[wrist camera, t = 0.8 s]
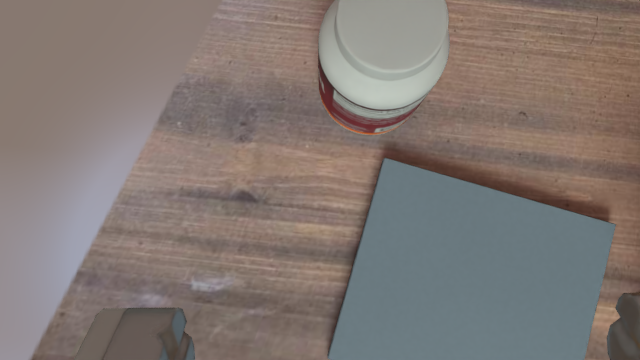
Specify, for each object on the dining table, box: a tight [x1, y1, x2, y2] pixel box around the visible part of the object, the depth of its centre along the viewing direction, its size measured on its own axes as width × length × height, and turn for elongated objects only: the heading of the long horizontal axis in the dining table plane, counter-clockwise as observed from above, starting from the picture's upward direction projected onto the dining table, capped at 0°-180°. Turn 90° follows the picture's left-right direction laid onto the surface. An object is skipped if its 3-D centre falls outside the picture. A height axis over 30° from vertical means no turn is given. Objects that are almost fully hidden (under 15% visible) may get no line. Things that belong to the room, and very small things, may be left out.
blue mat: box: [328, 158, 616, 360], centre depth 32 cm, size 14×12×1 cm
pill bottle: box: [318, 0, 450, 135], centre depth 28 cm, size 6×6×11 cm
